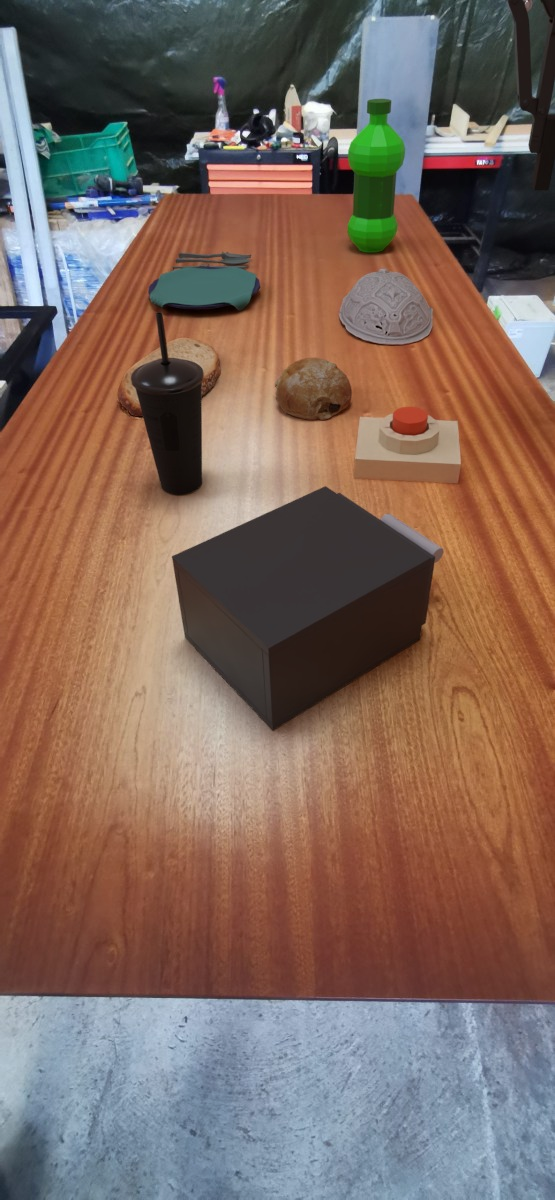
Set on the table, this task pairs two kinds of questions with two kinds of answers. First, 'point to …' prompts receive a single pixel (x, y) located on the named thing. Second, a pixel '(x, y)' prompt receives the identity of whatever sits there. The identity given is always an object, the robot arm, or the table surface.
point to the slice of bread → (176, 349)
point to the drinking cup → (172, 417)
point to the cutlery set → (206, 283)
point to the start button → (409, 421)
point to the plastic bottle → (375, 179)
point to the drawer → (414, 539)
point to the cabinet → (301, 601)
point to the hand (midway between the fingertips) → (539, 186)
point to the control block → (407, 452)
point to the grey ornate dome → (386, 309)
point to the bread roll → (313, 389)
